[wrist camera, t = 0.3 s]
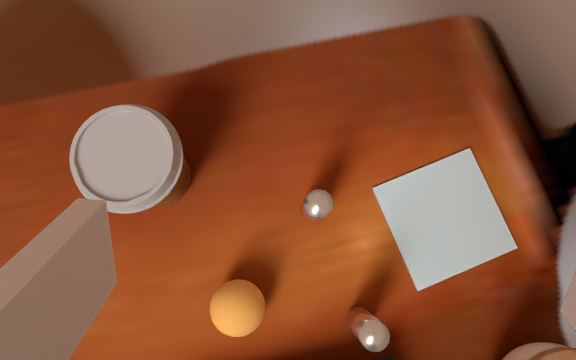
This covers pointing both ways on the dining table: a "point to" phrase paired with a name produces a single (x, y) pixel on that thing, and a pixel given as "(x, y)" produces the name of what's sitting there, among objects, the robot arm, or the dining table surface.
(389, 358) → the lantern
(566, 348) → the lidded jar
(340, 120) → the dining table surface
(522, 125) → the dining table surface
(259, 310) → the ball
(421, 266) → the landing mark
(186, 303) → the dining table surface
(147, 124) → the disposable coffee cup
